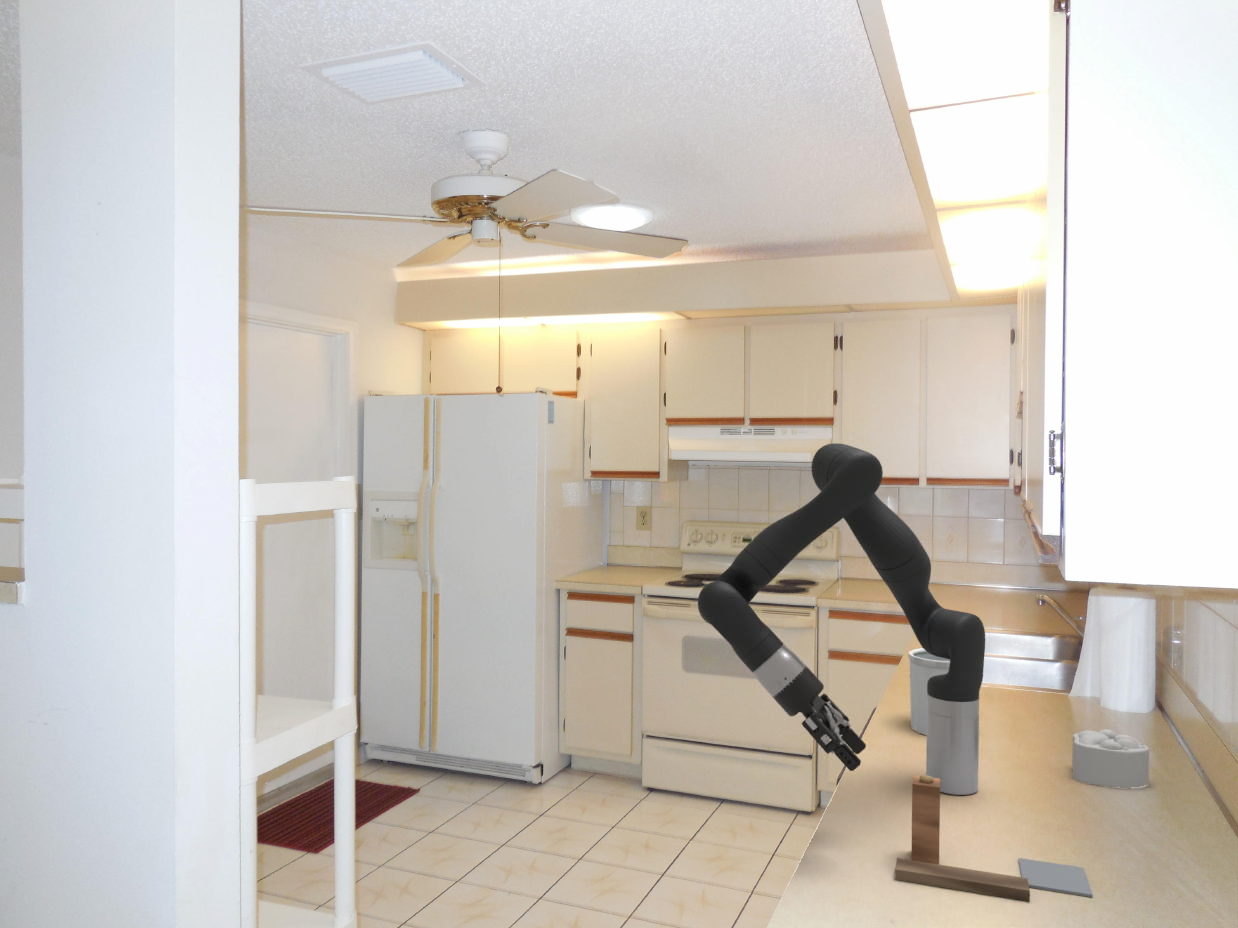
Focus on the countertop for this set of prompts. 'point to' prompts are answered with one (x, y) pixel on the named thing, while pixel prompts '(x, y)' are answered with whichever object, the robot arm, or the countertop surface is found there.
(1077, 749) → the lumpy-topped squat cylinder
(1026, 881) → the walnut board
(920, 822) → the post
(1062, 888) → the slate mat
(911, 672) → the utensil holder
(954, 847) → the countertop surface
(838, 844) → the countertop surface
